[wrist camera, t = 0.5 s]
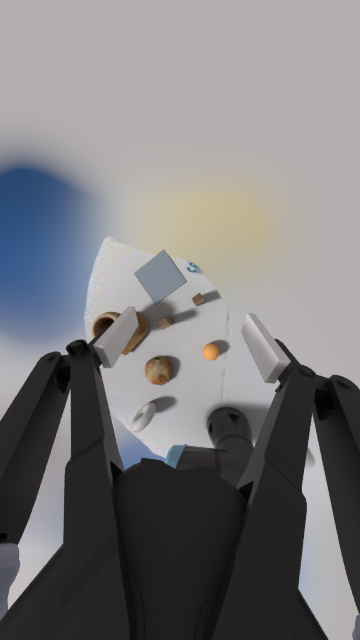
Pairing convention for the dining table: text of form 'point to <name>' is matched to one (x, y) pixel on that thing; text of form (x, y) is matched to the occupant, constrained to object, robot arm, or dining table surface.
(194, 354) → the dining table surface
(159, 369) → the bread roll
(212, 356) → the ball
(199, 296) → the gate post right
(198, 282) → the dining table surface
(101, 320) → the brown boot
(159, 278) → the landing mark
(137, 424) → the donut
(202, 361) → the dining table surface
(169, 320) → the gate post left
